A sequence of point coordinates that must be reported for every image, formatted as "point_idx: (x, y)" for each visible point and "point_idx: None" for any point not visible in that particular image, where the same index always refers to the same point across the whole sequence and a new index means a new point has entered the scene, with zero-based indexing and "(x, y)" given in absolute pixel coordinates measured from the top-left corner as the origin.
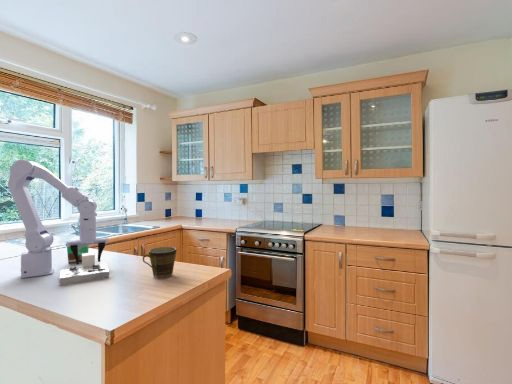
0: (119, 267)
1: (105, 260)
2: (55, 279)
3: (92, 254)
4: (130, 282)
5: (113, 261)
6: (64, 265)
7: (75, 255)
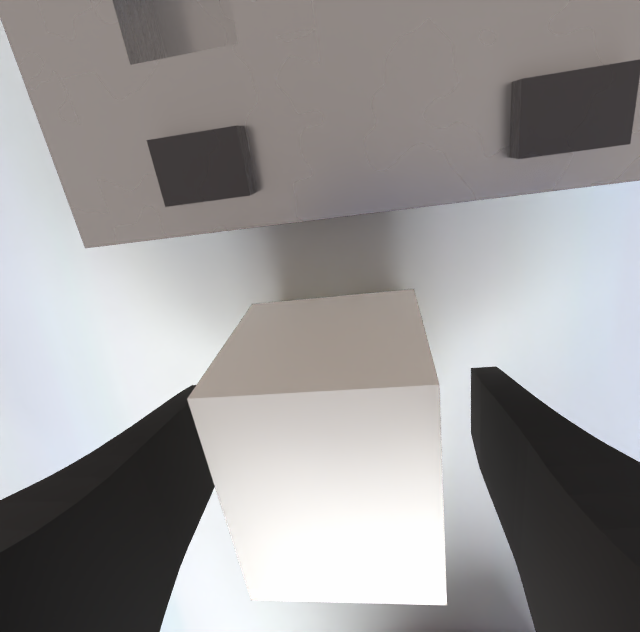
0: (16, 291)
1: (230, 601)
2: None
3: (242, 451)
4: None
5: None
6: None
7: (588, 450)
